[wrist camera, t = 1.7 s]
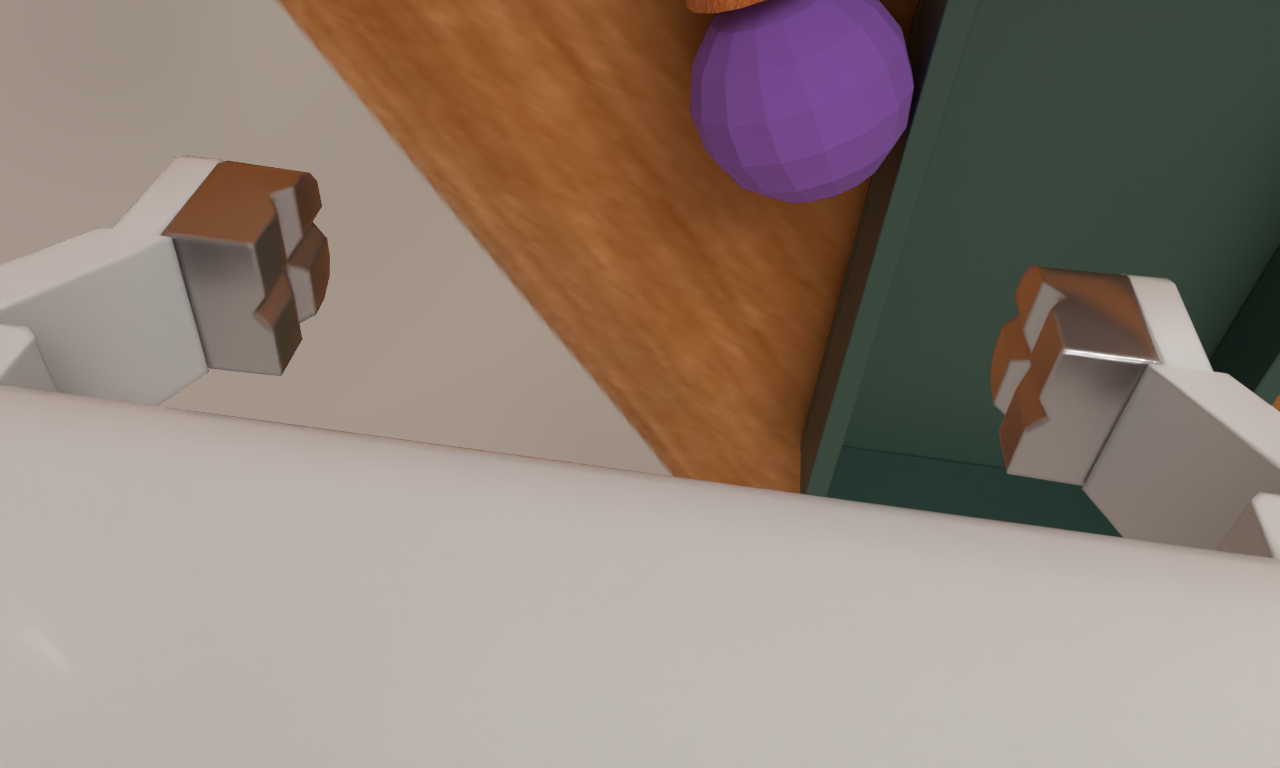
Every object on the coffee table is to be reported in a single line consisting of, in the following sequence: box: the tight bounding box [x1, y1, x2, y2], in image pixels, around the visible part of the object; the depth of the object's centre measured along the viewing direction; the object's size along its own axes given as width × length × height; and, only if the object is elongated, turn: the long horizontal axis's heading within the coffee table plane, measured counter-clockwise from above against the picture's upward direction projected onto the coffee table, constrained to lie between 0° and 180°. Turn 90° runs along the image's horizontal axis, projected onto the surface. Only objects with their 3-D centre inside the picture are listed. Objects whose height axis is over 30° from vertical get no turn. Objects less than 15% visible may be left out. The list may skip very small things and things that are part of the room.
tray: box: [800, 0, 1280, 538], centre depth 32 cm, size 26×14×4 cm, turn 176°
